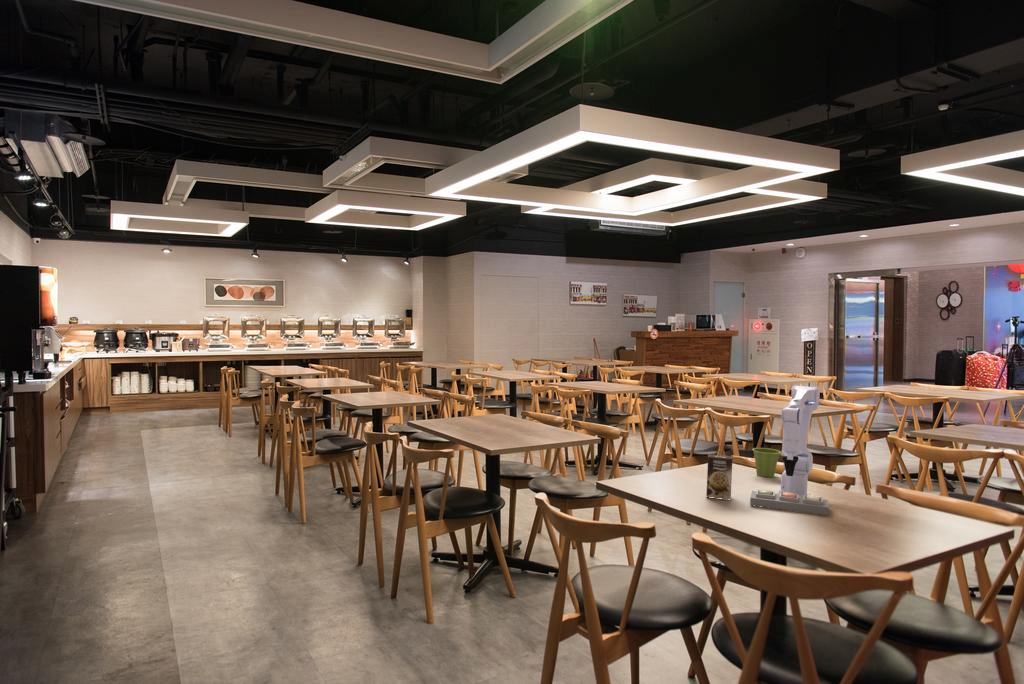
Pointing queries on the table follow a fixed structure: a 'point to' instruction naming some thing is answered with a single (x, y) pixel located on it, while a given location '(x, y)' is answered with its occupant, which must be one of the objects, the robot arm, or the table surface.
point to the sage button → (765, 492)
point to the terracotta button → (788, 495)
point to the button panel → (790, 503)
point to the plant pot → (766, 461)
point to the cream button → (812, 497)
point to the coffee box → (719, 476)
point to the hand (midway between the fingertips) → (789, 475)
